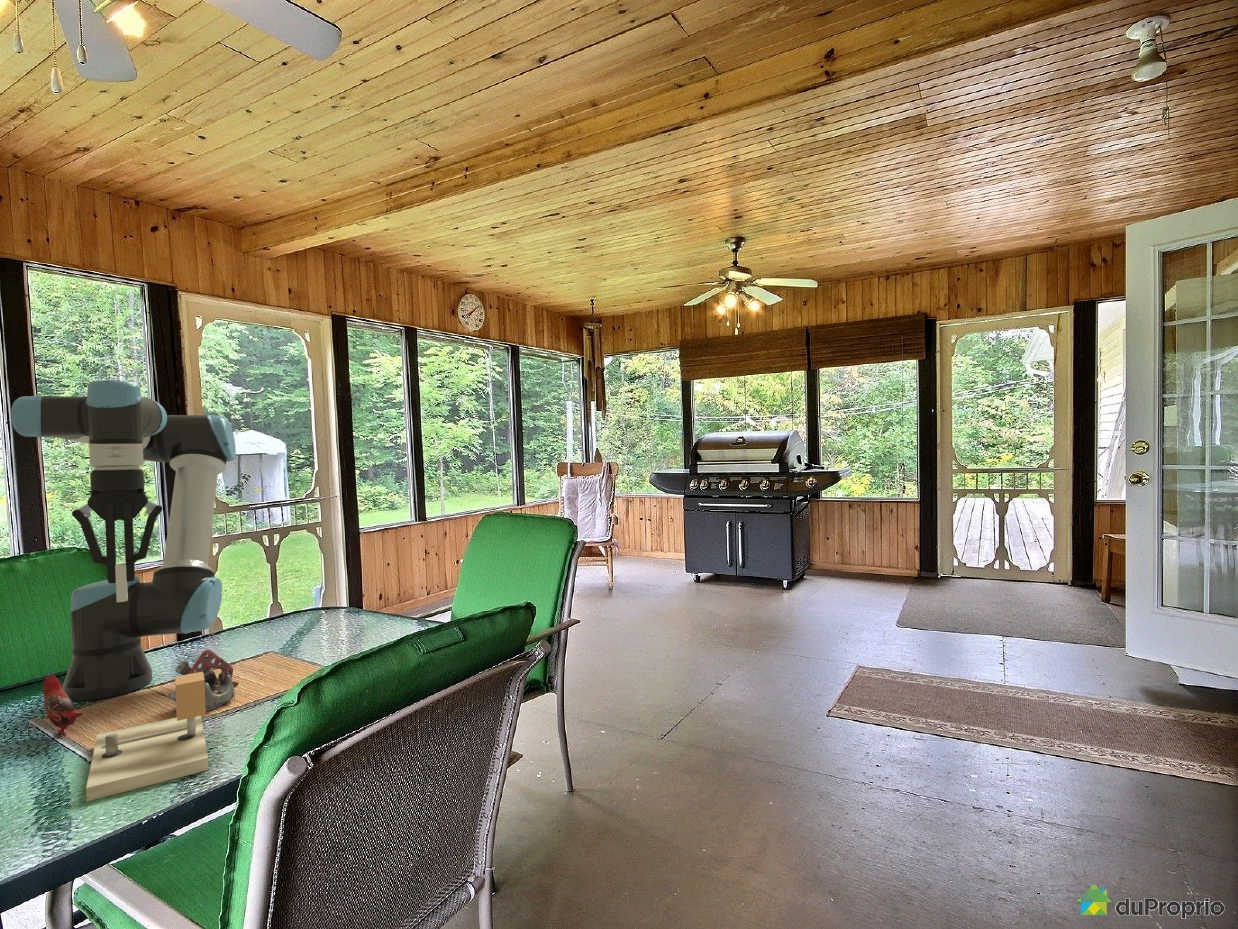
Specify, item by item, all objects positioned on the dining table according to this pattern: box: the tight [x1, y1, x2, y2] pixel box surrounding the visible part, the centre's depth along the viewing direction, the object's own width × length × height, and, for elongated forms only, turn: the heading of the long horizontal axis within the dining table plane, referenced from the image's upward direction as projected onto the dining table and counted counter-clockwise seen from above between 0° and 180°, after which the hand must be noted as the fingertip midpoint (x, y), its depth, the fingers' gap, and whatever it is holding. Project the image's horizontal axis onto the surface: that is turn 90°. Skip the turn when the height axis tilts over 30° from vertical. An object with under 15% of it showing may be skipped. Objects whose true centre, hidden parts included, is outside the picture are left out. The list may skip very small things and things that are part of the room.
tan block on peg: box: [174, 672, 207, 735], centre depth 110 cm, size 5×4×10 cm
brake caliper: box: [168, 648, 239, 709], centre depth 129 cm, size 11×11×12 cm
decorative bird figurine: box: [42, 674, 83, 736], centre depth 115 cm, size 3×18×10 cm, turn 57°
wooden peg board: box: [85, 716, 209, 802], centre depth 107 cm, size 22×15×5 cm
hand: (122, 600), depth 114 cm, fingers closed
